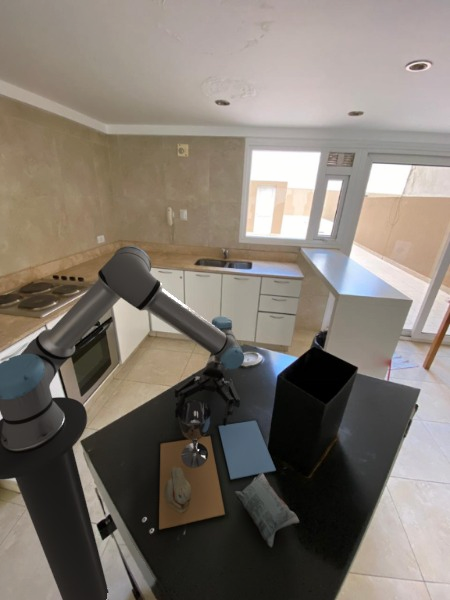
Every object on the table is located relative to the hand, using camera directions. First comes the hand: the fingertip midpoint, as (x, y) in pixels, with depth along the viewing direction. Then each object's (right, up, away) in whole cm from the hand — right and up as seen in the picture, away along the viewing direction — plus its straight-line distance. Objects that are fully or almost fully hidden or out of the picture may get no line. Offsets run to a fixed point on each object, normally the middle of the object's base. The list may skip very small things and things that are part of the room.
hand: (200, 418), depth 69 cm
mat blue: (+12, -9, +1) cm, 15 cm away
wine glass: (-1, -9, -2) cm, 9 cm away
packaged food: (+16, -15, -13) cm, 25 cm away
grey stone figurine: (-4, -13, -12) cm, 18 cm away
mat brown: (-2, -11, -6) cm, 13 cm away
